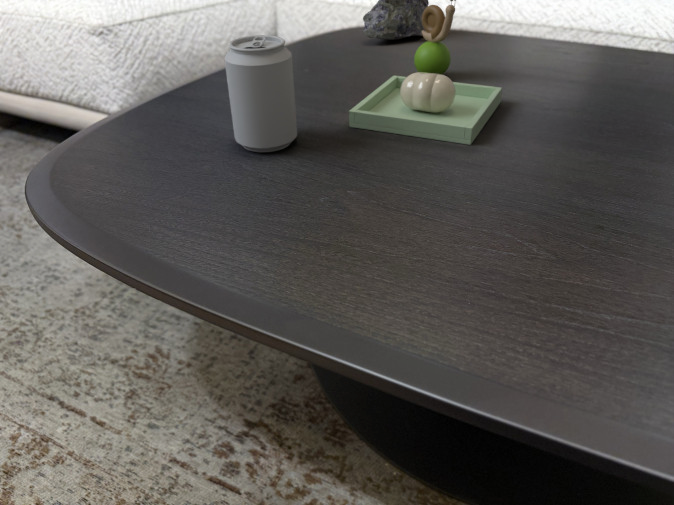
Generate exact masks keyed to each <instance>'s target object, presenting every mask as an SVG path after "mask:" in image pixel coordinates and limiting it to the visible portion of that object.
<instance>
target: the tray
mask: <svg viewBox="0 0 674 505" xmlns="http://www.w3.org/2000/svg"><path fill="white" fill-rule="evenodd" d="M406 77H407V76H403V75H395V74H394V75H392V76H391V77H390V78H388V79H387V80H386V81H385V82H383V83H382V84H381V85H379V87H377V88H376V89H374V90H373V91H372V92H371V93H370V94H369V95H367V96H366V97H364V99H362V100H361V101H359V103H357V104H356V105H355V106H353V107H352V108H351V109H350V110H348V123H349V125H348V127H349V128H356V129H361V130H369V131H375V132H382V133H389V134H396V135H401V136H408V137H409V136H410V137H416V138H421V139H429V140H435V141H442V142H449V143H455V144H461V145H469V146H471V145H472V143H473V142H474V141H475V139H476V138H477V136H479V134H480V132H481V131H482V130H483V128H484V127H485V125H486V124H487V123H488V121H489V119H490V118H491V117H492V115H493V114H494V112H495V111H496V109H497V108H498V107H499V105H500V103H501V102H502V94H503V93H502V92H503V87H499V86H491V85H482V84H475V83H474V84H473V83H465V82H457V81H452V82H453V84H454V86H455V89H456V96H455V100H454V102H453V104H452V105H451V106H450V107H449V108H448V109H447V110H445V111H443V112H439V113H433V112H425V111H418V110H413V109H410V108H408V107H407V106H406V105H405V104H404V103H403V101H402V99H401V95H400V88H401V85H402V83H403V81H404V79H405V78H406Z"/></svg>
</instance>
